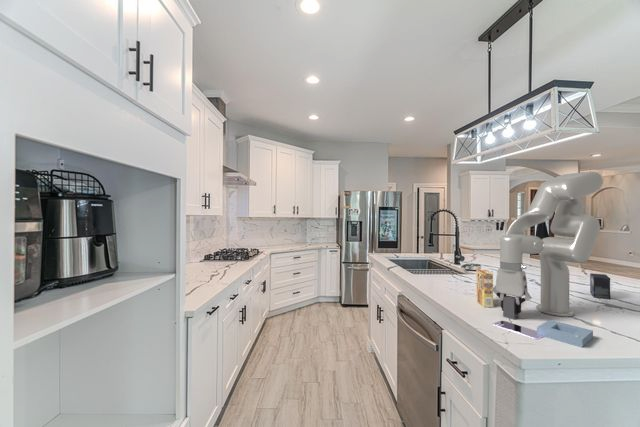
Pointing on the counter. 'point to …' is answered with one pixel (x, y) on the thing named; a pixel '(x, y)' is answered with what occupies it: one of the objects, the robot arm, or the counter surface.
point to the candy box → (485, 288)
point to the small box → (600, 286)
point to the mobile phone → (518, 329)
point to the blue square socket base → (565, 333)
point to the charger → (509, 307)
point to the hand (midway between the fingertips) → (510, 311)
